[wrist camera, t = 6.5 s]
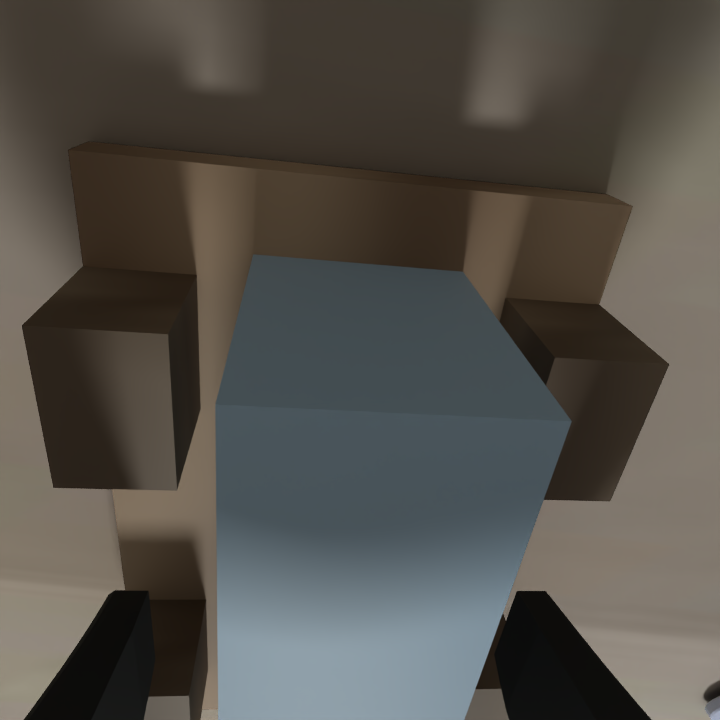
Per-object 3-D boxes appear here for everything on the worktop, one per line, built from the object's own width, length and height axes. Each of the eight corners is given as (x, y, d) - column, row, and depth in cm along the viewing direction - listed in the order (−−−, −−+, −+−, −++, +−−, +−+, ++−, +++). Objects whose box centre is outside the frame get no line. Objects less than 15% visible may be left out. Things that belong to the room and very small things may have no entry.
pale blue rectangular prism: (463, 271, 11) (571, 420, 6) (371, 696, 17) (394, 912, 13) (253, 254, 10) (214, 404, 6) (241, 699, 17) (220, 925, 12)
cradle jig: (607, 194, 11) (720, 247, 8) (455, 672, 19) (484, 792, 16) (88, 141, 10) (-7, 180, 7) (149, 678, 18) (116, 810, 14)
